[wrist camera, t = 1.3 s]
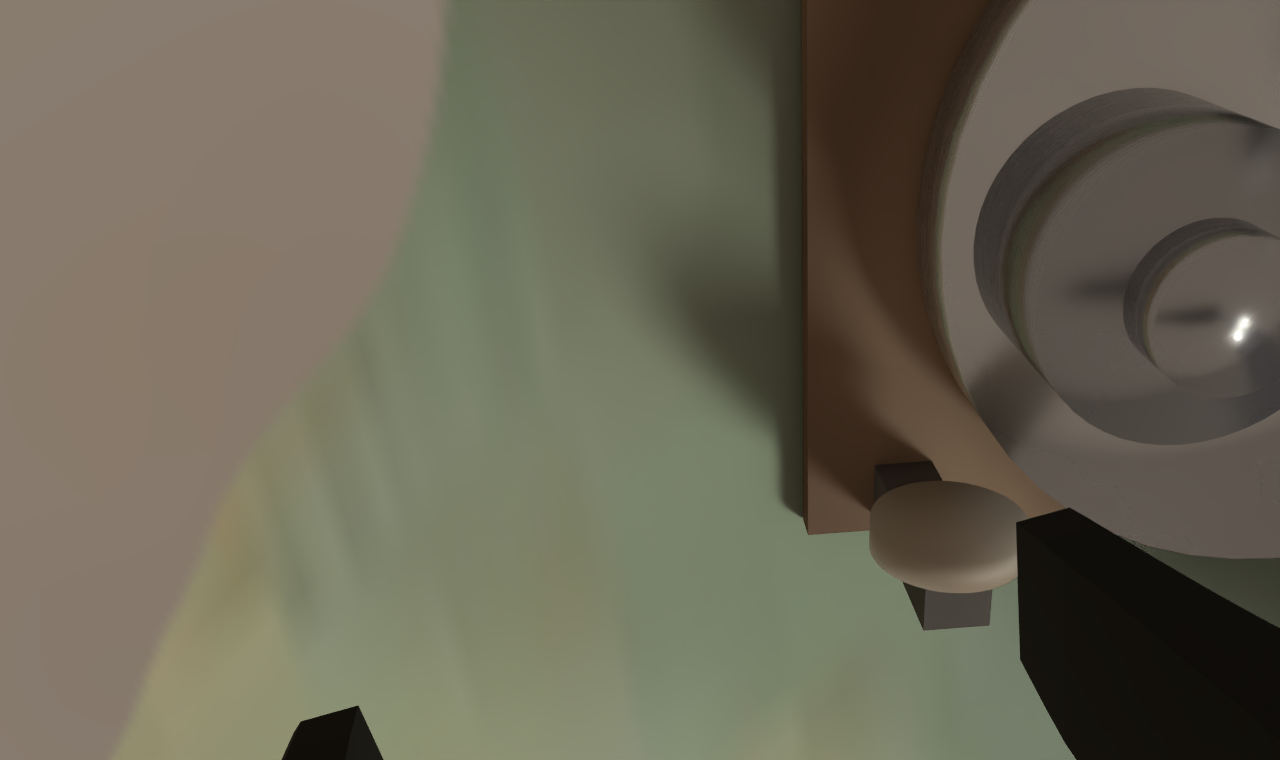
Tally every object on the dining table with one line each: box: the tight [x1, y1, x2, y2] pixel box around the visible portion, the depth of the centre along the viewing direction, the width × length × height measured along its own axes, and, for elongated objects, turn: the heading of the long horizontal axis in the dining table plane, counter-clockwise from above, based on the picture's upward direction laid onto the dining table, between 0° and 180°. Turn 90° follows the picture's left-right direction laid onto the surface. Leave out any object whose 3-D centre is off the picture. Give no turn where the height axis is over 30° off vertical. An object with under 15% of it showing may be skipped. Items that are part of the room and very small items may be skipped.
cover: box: [973, 88, 1280, 445], centre depth 17 cm, size 5×5×4 cm
